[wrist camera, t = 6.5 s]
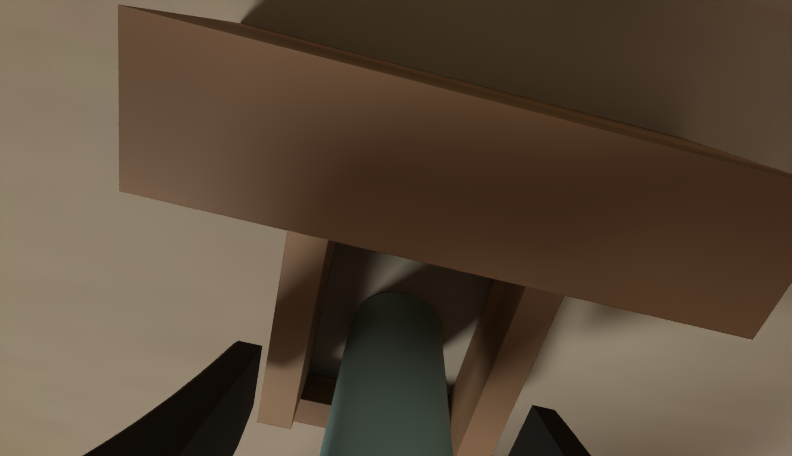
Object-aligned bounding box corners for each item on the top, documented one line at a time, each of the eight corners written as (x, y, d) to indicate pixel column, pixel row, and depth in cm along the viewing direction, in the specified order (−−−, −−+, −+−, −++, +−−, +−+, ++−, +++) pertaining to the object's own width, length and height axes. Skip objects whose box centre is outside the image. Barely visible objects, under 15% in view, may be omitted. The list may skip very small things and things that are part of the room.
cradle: (531, 443, 16) (577, 595, 11) (206, 373, 15) (121, 507, 11) (683, 138, 12) (851, 194, 7) (238, 22, 11) (118, 4, 6)
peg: (430, 374, 15) (449, 735, 7) (344, 360, 15) (266, 709, 7) (449, 300, 14) (497, 633, 6) (356, 284, 14) (278, 600, 6)
